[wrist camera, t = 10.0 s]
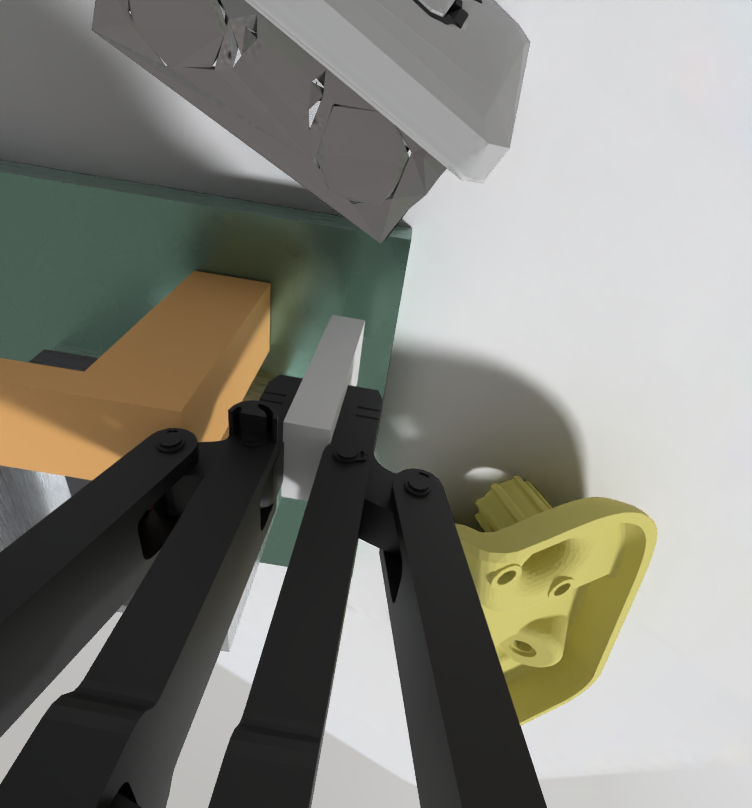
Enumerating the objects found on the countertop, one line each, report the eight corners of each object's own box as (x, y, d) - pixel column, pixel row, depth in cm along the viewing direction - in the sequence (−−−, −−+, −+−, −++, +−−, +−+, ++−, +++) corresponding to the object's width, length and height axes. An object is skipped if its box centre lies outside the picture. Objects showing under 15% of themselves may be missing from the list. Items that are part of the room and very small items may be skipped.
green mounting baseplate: (-75, 147, 20) (-412, 210, 12) (412, 228, 20) (399, 344, 12) (48, 506, 31) (-80, 658, 23) (354, 556, 31) (329, 724, 23)
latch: (117, 258, 20) (-58, 372, 13) (270, 283, 20) (180, 412, 13) (129, 327, 21) (-20, 462, 14) (269, 350, 21) (190, 496, 14)
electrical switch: (532, 38, 16) (581, 76, 9) (430, 176, 19) (404, 288, 12) (276, -212, 14) (55, -439, 6) (204, -7, 17) (1, -4, 9)
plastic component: (594, 689, 33) (457, 757, 31) (528, 594, 39) (408, 645, 36) (686, 483, 21) (468, 570, 18) (569, 386, 26) (391, 444, 24)
